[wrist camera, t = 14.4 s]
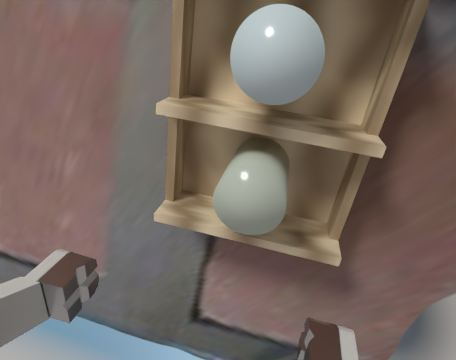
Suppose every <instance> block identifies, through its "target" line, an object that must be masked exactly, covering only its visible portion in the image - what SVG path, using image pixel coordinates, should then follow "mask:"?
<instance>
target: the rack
mask: <svg viewBox="0 0 456 360" xmlns="http://www.w3.org/2000/svg"><path fill="white" fill-rule="evenodd" d="M429 2H430V0H173V13H172V38H171V64H170V89H169V97H168V98H166V99H164V100H162V101H160V102H158V103H156V114H159V115H164V116H168V140H167V165H166V190H165V201H164V202H163V203H162V204H161V205H160V207H159V208H158V209H157V210H156V212H155V213H154V221H157V222H161V223H165V224H169V225H173V226H177V227H181V228H185V229H189V230H193V231H197V232H201V233H205V234H209V235H213V236H217V237H221V238H225V239H229V240H234V241H238V242H242V243H246V244H250V245H254V246H258V247H262V248H266V249H270V250H274V251H278V252H282V253H286V254H290V255H294V256H298V257H302V258H306V259H310V260H314V261H318V262H322V263H326V264H330V265H335V266H339V264H340V262H341V253H340V247H339V242H338V240H339V238H340V235H341V232H342V230H343V227H344V225H345V222H346V219H347V217H348V214H349V211H350V209H351V206H352V204H353V201H354V198H355V196H356V193H357V190H358V188H359V185H360V183H361V180H362V177H363V175H364V172H365V170H366V167H367V164H368V162H369V159H370V156H373V157H378V158H382V157H383V155H384V152H385V150H386V146H385V144H384V143H383V142H382V140H381V139H380V138H379V136H378V135H379V133H380V130H381V128H382V125H383V122H384V120H385V117H386V115H387V112H388V109H389V107H390V104H391V101H392V99H393V96H394V94H395V91H396V88H397V86H398V83H399V80H400V78H401V75H402V73H403V70H404V67H405V65H406V62H407V60H408V57H409V54H410V52H411V49H412V46H413V44H414V41H415V39H416V36H417V33H418V31H419V28H420V25H421V23H422V20H423V18H424V15H425V12H426V10H427V7H428V5H429ZM272 4H288V5H292V6H295V7H298V8H300V9H302V10H303V11H305V12H306V13H307V14H309V15H310V16H311V17H312V18H313V19H314V20H315V22H316V23H317V25H318V26H319V28H320V31H321V33H322V36H323V39H324V45H325V59H324V64H323V68H322V71H321V73H320V75H319V77H318V79H317V81H316V82H315V84H314V85H313V86H312V88H311V89H310V90H309V91H308V92H307V93H306V94H304V95H303V96H302V97H300V98H298V99H297V100H295V101H292V102H290V103H287V104H282V105H268V104H263V103H260V102H258V101H255V100H254V99H252V98H250V97H249V96H248V95H246V94H245V93H244V92H243V91H242V89H241V88H240V87H239V85H238V84H237V82H236V80H235V78H234V76H233V73H232V69H231V63H230V52H231V46H232V42H233V39H234V36H235V34H236V32H237V30H238V28H239V27H240V25H241V24H242V23H243V21H244V20H245V19H246V18H247V17H248V16H249V15H251V14H252V13H253V12H255V11H257V10H258V9H260V8H263V7H265V6H268V5H272ZM254 138H266V139H270V140H273V141H275V142H276V143H278V144H279V145H280V146H281V147H282V148H283V149H284V150H285V151H286V153H287V155H288V158H289V163H290V167H289V179H288V190H287V202H286V211H285V215H284V218H283V219H282V221H281V223H280V224H279V225H278V226H277V227H276V228H274V229H273V230H271V231H270V232H267V233H265V234H261V235H245V234H241V233H238V232H235V231H233V230H231V229H230V228H228V227H227V226H226V225H225V224H223V223H222V221H221V220H220V219H219V218H218V216H217V214H216V212H215V210H214V206H213V194H214V191H215V188H216V187H217V185H218V183H219V181H220V179H221V178H222V176H223V174H224V172H225V170H226V169H227V167H228V165H229V163H230V161H231V160H232V158H233V156H234V154H235V152H236V151H237V149H238V148H239V147H240V146H241V145H242V144H243V143H244V142H246V141H248V140H250V139H254Z"/></svg>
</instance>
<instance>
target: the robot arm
mask: <svg viewBox="0 0 456 360" xmlns="http://www.w3.org/2000/svg"><path fill="white" fill-rule="evenodd" d="M96 267H97V262H96V260H95V259H93V258H89V257H86V256H83V255H80V254H76V253H73V252H70V251H66V250H63V249H58V250H55V251H54V252H53V253H52V254H51V255H49V256H48V257H47V258H46V259H45V260H44V261H42V262H41V263H40V264H39V265H38V266H37V267H36V268H34V269H33V270H32V271H31V272H30V273H29V274H27V275H26V276H25V277H18V278H15V279H13V280H10V281H7V282H5V283H2V284H0V347H2V346H3V345H5V344H7V343H8V342H10V341H12V340H14V339H15V338H17V337H19V336H20V335H22V334H24V333H26V332H27V331H29V330H31V329H32V328H34V327H36V326H37V325H39V324H41V323H42V322H44V321H46V320H48V319H49V317H50V318H53V319H57V320H61V321H64V322H67V323H70V322H71V321H72V320H73V319H74V318H75V316H76V315H77V314H78V313H79V311H80V310H81V309H82V302H84V301H86V300H88V299H90V298H91V297H92V295H93V294H94V293H95V290H96V288H97V286H98V282H99V276H98V274H97V272H96V271H95V270H94V269H95V268H96ZM297 360H359V357H358V351H357V345H356V339H355V333H354V331H353V330H352V329H348V328H344V327H341V326H337V325H334V324H331V323H327V322H323V321H319V320H315V319H312V318H307V319H306V322H305V331H304V332H302V333H301V336H300V339H299V344H298V352H297Z"/></svg>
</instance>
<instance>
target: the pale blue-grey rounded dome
mask: <svg viewBox="0 0 456 360" xmlns="http://www.w3.org/2000/svg"><path fill="white" fill-rule="evenodd" d="M324 59H325V45H324V39H323V36H322V33H321V31H320V28H319V26H318V25H317V23H316V22H315V20H314V19H313V18H312V17H311V16H310V15H309V14H307V13H306V12H305V11H303V10H302V9H300V8H298V7H295V6H292V5H288V4H272V5H268V6H265V7H263V8H260V9H258V10H257V11H255V12H253V13H252V14H251V15H249V16H248V17H247V18H246V19H245V20H244V21H243V23H242V24H241V25H240V27H239V28H238V30H237V32H236V34H235V36H234V39H233V42H232V46H231V52H230V63H231V69H232V73H233V76H234V78H235V80H236V82H237V84H238V85H239V87H240V88H241V89H242V91H243V92H244V93H245V94H246V95H248V96H249V97H250V98H252V99H254V100H255V101H258V102H260V103H263V104H268V105H282V104H287V103H290V102H292V101H295V100H297V99H298V98H300V97H302V96H303V95H304V94H306V93H307V92H308V91H309V90H310V89H311V88H312V86H313V85H314V84H315V82H316V81H317V79H318V77H319V75H320V73H321V71H322V68H323V64H324Z"/></svg>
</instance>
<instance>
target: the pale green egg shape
mask: <svg viewBox="0 0 456 360" xmlns="http://www.w3.org/2000/svg"><path fill="white" fill-rule="evenodd" d="M289 167H290V163H289V158H288V155H287V153H286V151H285V150H284V149H283V148H282V147H281V146H280V145H279V144H278V143H276V142H275V141H273V140H270V139H266V138H254V139H250V140H248V141H246V142H244V143H243V144H242V145H241V146H240V147H239V148H238V149H237V151H236V152H235V154H234V156H233V158H232V160H231V161H230V163H229V165H228V167H227V169H226V170H225V172H224V174H223V176H222V178H221V179H220V181H219V183H218V185H217V187H216V188H215V191H214V194H213V206H214V210H215V212H216V214H217V216H218V218H219V219H220V220H221V221H222V223H223V224H225V225H226V226H227V227H228V228H230V229H231V230H233V231H235V232H238V233H241V234H245V235H261V234H265V233H267V232H270V231H271V230H273V229H274V228H276V227H277V226H278V225H279V224H280V223H281V221H282V219H283V218H284V215H285V211H286V202H287V190H288V179H289Z"/></svg>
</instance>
